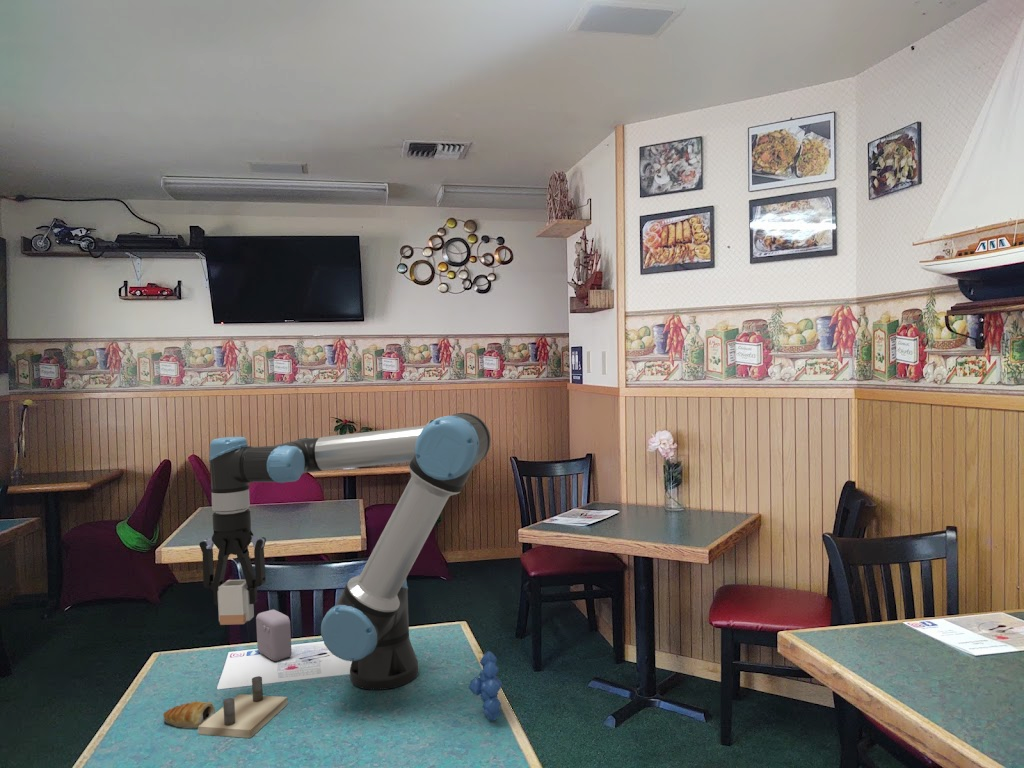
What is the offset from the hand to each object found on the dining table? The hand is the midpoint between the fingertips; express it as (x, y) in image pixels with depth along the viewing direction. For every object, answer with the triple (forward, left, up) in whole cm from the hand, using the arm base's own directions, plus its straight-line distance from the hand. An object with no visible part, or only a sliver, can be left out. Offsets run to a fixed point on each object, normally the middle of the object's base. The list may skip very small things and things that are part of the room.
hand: (236, 618), depth 158 cm
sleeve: (0, 0, 0) cm, 0 cm away
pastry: (+4, +11, -17) cm, 21 cm away
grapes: (-54, +1, -17) cm, 57 cm away
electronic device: (+5, -22, -17) cm, 28 cm away
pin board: (-7, +9, -17) cm, 20 cm away
